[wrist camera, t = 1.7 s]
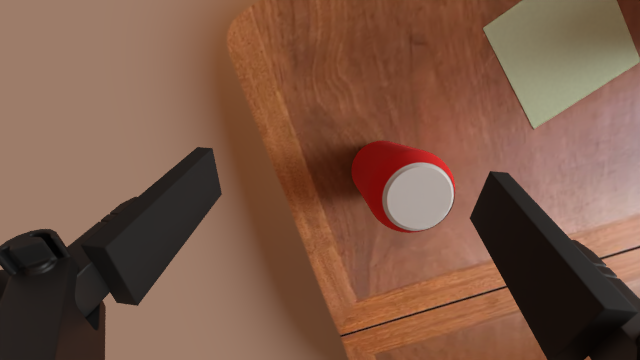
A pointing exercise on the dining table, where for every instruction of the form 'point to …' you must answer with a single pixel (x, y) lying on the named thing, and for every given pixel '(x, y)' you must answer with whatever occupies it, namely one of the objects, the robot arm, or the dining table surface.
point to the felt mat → (560, 51)
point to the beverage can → (403, 185)
